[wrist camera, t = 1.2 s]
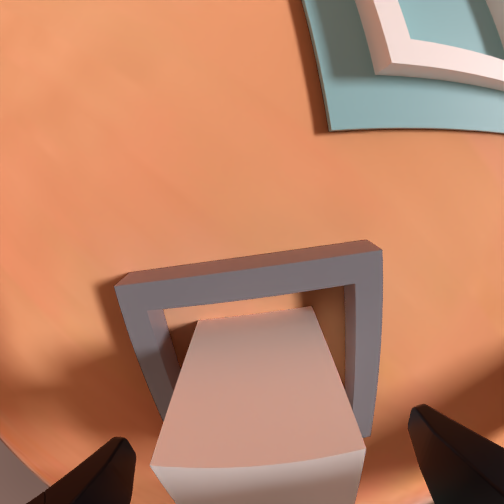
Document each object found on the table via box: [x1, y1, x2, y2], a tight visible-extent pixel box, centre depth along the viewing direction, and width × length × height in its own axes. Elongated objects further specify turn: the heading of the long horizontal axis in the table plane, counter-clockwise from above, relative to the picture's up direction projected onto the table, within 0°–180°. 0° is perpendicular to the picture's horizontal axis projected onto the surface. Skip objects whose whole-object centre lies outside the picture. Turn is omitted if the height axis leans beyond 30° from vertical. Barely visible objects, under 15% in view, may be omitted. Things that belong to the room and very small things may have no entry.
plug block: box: [150, 306, 366, 504], centre depth 9 cm, size 4×5×7 cm
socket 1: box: [114, 240, 383, 438], centre depth 11 cm, size 9×9×2 cm
